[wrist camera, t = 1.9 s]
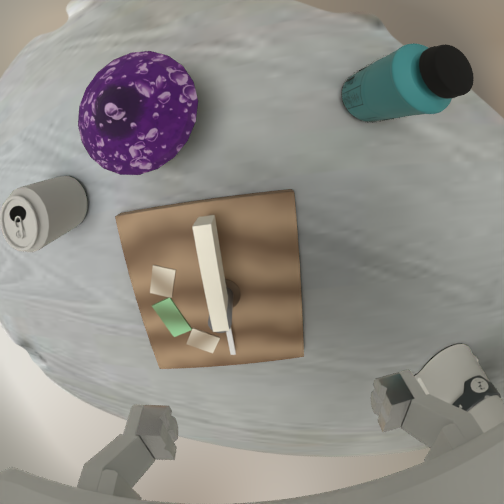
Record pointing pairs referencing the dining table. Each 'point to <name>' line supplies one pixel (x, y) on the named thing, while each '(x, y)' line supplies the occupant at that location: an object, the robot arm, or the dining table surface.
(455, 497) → the robot arm
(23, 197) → the can
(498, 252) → the dining table surface
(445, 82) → the beverage bottle
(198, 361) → the board
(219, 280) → the cream lever
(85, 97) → the decorative mushroom
